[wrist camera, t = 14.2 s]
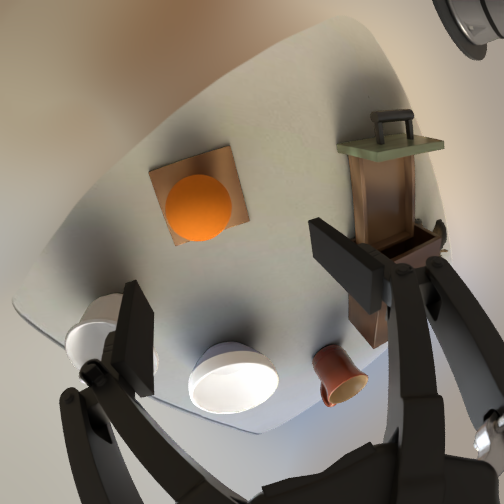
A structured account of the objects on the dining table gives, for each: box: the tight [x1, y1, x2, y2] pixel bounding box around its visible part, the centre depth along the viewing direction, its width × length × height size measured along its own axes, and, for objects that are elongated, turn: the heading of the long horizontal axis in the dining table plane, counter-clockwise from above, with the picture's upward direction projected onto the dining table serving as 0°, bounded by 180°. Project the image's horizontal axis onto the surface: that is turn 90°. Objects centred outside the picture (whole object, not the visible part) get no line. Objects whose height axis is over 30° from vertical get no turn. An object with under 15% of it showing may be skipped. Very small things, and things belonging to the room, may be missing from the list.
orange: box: [165, 174, 232, 241], centre depth 29 cm, size 7×7×7 cm
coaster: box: [149, 146, 250, 246], centre depth 32 cm, size 10×10×1 cm
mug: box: [312, 344, 368, 407], centre depth 49 cm, size 12×9×10 cm
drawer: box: [337, 109, 444, 252], centre depth 34 cm, size 22×14×9 cm, turn 14°
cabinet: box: [349, 222, 442, 349], centre depth 42 cm, size 18×14×9 cm
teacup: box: [65, 293, 159, 384], centre depth 31 cm, size 12×15×10 cm
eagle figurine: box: [415, 219, 448, 257], centre depth 44 cm, size 8×7×9 cm
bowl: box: [188, 342, 279, 414], centre depth 42 cm, size 14×14×8 cm
